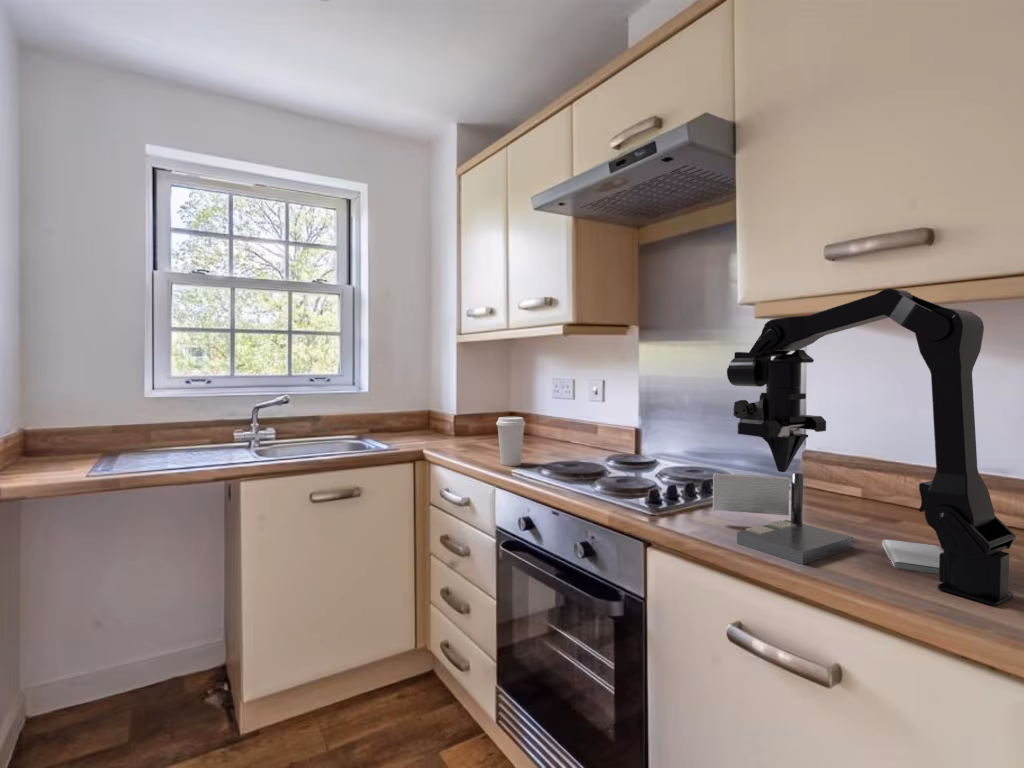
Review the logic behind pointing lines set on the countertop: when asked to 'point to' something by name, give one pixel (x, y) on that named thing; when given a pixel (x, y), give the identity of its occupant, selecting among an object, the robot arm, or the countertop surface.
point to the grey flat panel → (751, 493)
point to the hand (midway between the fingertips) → (781, 471)
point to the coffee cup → (510, 440)
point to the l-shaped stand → (795, 534)
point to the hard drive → (913, 555)
